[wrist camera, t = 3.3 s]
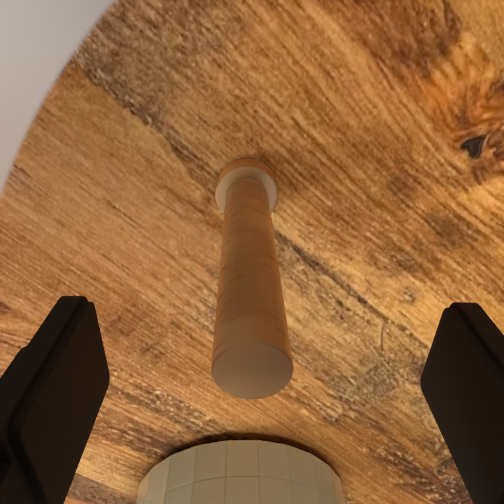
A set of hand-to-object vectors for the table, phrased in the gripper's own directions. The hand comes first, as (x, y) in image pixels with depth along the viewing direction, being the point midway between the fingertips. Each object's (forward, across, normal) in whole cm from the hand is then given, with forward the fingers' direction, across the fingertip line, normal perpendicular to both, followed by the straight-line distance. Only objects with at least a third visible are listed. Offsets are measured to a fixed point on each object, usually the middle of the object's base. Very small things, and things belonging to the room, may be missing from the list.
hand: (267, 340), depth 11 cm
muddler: (+11, +1, 0) cm, 11 cm away
